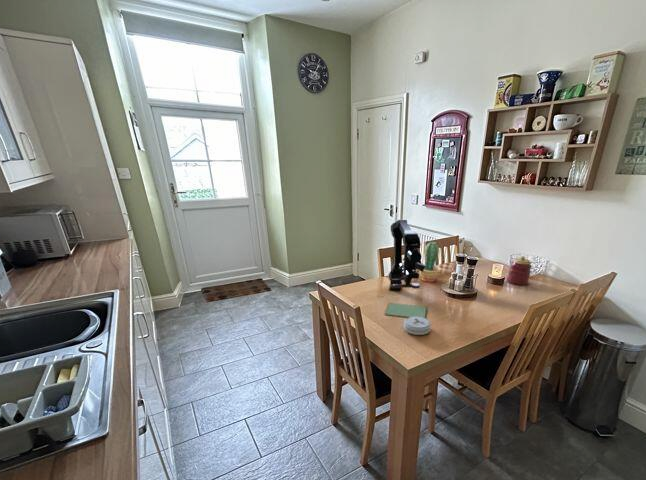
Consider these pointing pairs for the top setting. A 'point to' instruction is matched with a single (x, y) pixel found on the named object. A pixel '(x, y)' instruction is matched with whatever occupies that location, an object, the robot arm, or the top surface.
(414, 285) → the spoon
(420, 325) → the lid
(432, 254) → the potted cactus
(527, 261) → the kitchen canister
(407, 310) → the placemat
